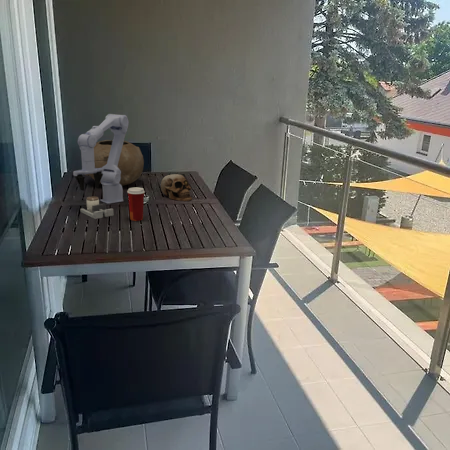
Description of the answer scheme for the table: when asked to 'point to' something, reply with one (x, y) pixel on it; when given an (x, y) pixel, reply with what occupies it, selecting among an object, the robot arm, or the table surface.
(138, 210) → the paper cup
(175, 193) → the tan skull
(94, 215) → the lane
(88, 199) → the jar
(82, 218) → the table surface
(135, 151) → the ceramic pot
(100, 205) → the pusher
